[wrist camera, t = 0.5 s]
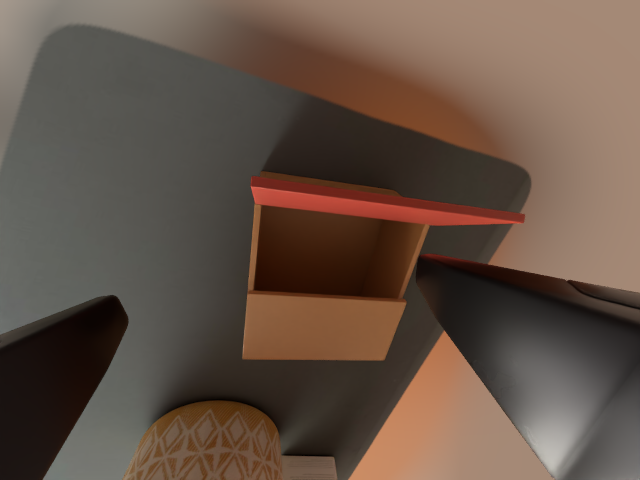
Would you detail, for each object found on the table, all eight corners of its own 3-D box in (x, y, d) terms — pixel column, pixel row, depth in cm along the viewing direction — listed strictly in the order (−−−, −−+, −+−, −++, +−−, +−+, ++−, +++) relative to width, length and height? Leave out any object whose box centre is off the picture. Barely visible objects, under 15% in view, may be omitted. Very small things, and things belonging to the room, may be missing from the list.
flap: (255, 203, 16) (255, 197, 16) (436, 225, 18) (437, 219, 18) (250, 186, 10) (251, 175, 10) (524, 223, 12) (525, 214, 12)
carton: (260, 170, 22) (254, 201, 16) (394, 189, 25) (438, 223, 18) (249, 296, 28) (241, 360, 21) (360, 302, 30) (384, 361, 24)
